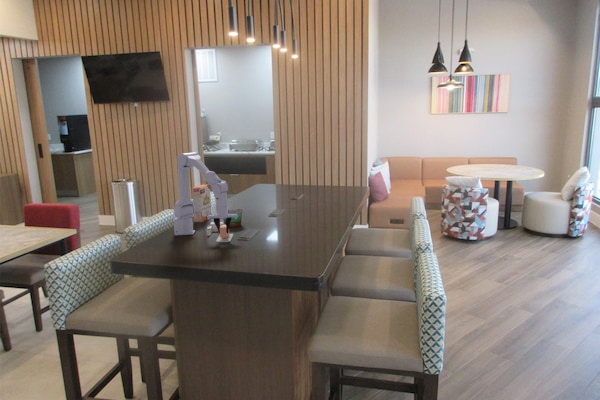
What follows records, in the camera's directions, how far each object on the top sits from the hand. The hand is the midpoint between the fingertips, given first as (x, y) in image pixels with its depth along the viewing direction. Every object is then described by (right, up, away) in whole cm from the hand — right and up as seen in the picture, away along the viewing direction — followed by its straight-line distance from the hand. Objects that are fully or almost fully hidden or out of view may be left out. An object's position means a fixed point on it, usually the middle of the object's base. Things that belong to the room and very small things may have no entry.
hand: (223, 232), depth 213 cm
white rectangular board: (0, -3, +4) cm, 5 cm away
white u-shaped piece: (-7, -1, +17) cm, 18 cm away
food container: (+1, +1, +27) cm, 27 cm away
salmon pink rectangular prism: (0, -2, +3) cm, 4 cm away
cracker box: (-21, +4, +47) cm, 52 cm away
